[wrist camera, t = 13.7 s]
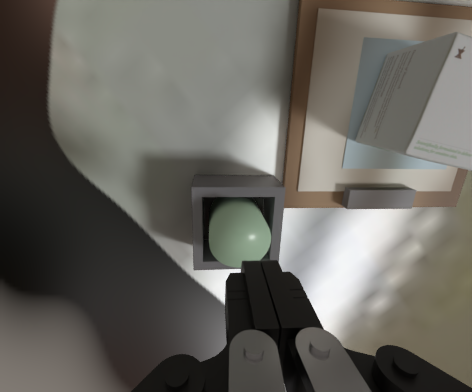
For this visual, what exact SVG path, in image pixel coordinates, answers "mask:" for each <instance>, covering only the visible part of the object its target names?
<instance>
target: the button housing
mask: <svg viewBox="0 0 472 392" xmlns="http://www.w3.org/2000/svg"><path fill="white" fill-rule="evenodd" d="M285 189H286V187H285V186H284V185H283V184H282V183H281V182H280V181H279V180H278V179H277V178H276V177H275V176H262V175H194V179H193V183H192V187H191V192H192V229H193V265H194V270H214V269H241V267H240V268H236V267H230V266H227V265H224V264H222V263H221V262H219V261H218V260H217V259H216V258H215V257H214V256H213V254H212V252H211V250H210V247H209V239H204V202H203V197H264V203H263V217H264V219H265V221H266V223H267V225H268V227H269V229H270V232H271V244H270V247H269V249H268V251H267V253H266V254H265V255H264V257H263V258H262V259H261V260H277V261H278V262H279V251H280V241H281V231H282V220H283V210H284V200H285ZM259 261H260V260H259Z"/></svg>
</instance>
